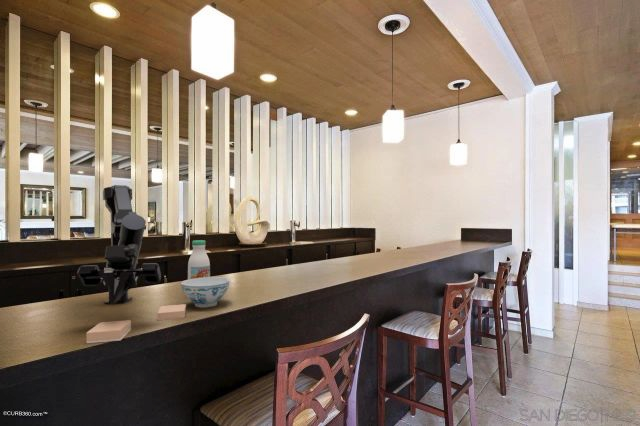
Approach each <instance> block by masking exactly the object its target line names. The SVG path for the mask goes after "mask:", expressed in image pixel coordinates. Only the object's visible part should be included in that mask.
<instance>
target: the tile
mask: <svg viewBox="0 0 640 426" xmlns="http://www.w3.org/2000/svg"><path fill="white" fill-rule="evenodd" d="M131 330H132V320H130V319H127V320H115V321H113V320H112V321H102V322H101V321H100V322H99V323H97V324H96V325H95V326H94V327H93V328H91V329H89V330H88V331H87V332H86V342H85V343H86V344H95V343H96V344H97V343H104V342H105V343H107V342H118V341H120V342H121V341H122V339H123V338H125V337H126V335H127V334H129V332H130V331H131Z"/></svg>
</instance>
